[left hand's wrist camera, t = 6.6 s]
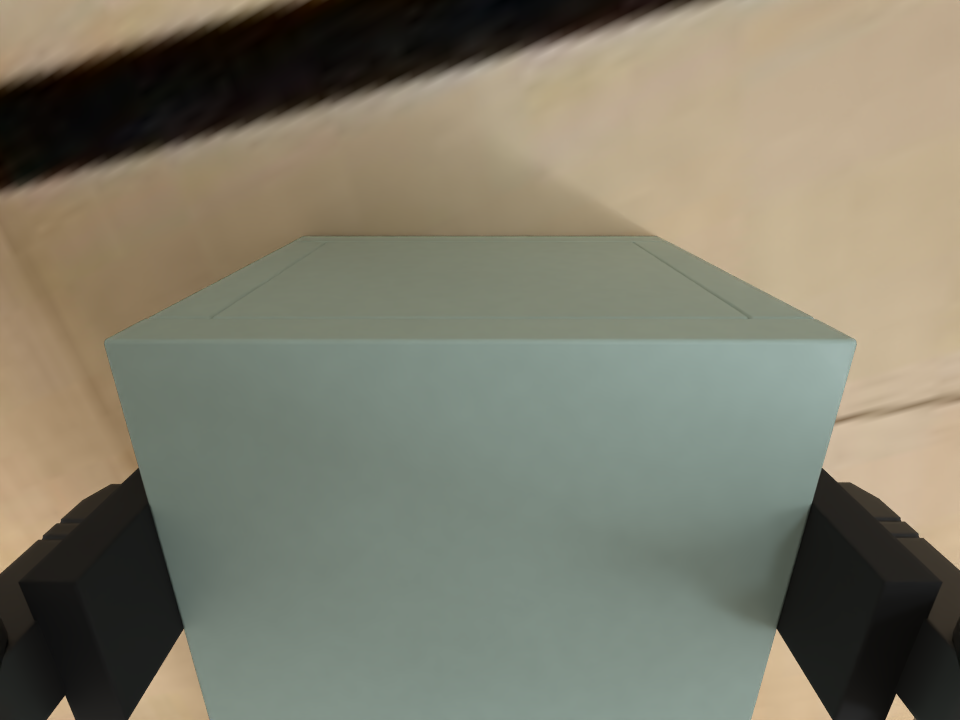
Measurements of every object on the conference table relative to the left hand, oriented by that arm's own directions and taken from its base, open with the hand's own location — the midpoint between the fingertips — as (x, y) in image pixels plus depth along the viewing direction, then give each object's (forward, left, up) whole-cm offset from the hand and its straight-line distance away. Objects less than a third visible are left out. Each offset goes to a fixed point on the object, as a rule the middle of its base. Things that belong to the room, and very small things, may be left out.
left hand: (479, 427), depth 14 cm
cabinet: (+6, +3, -4) cm, 8 cm away
